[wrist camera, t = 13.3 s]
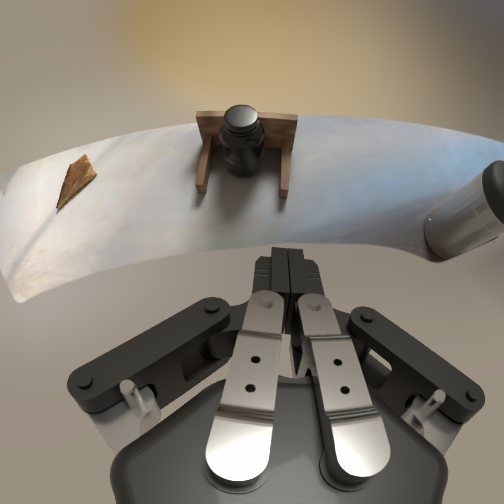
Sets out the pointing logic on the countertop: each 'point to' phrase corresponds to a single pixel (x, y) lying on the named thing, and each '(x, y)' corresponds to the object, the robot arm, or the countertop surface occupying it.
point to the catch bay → (276, 136)
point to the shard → (76, 179)
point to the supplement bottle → (242, 141)
